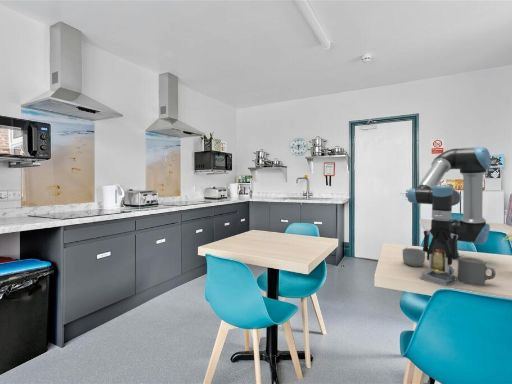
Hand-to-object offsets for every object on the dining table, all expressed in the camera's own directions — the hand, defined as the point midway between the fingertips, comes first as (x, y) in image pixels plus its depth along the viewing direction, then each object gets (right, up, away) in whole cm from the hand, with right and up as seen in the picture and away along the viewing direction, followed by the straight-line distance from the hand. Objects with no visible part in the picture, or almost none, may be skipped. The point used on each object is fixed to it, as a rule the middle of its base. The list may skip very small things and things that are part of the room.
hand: (438, 269), depth 129 cm
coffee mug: (+15, -6, -2) cm, 17 cm away
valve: (0, -1, 0) cm, 1 cm away
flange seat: (+2, -5, +2) cm, 6 cm away
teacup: (+1, -4, +25) cm, 25 cm away
